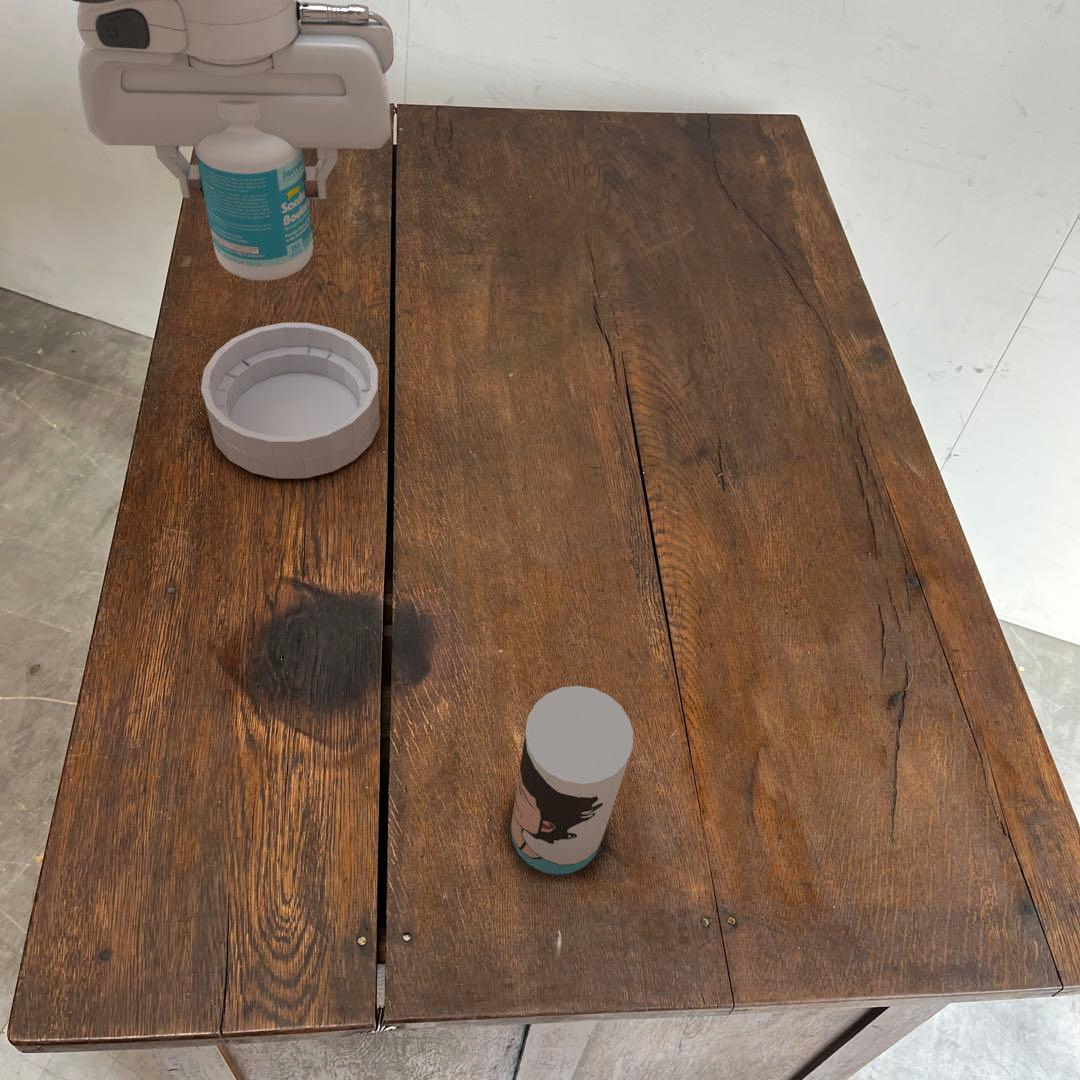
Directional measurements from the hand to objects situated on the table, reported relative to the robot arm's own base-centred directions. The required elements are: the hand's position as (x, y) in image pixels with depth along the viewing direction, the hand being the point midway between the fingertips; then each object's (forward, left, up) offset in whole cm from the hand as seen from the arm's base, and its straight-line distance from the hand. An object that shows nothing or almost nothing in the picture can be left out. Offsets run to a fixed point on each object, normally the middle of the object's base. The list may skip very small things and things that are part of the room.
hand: (255, 194), depth 76 cm
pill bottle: (0, 0, -6) cm, 6 cm away
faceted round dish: (0, +3, -27) cm, 27 cm away
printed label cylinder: (+21, -39, -27) cm, 52 cm away
